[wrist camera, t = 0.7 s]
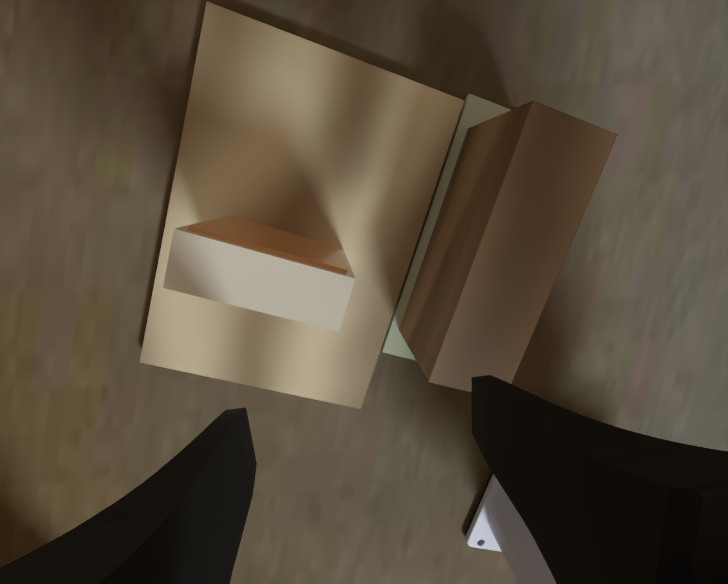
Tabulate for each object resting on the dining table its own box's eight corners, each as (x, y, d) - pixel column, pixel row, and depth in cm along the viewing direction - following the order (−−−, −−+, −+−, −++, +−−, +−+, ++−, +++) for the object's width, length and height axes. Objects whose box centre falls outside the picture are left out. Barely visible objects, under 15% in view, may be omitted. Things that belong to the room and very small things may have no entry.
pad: (544, 125, 20) (549, 124, 19) (452, 366, 23) (454, 369, 22) (466, 95, 19) (469, 93, 18) (381, 349, 22) (382, 352, 21)
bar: (529, 151, 19) (617, 134, 14) (455, 344, 22) (504, 399, 16) (467, 128, 19) (533, 100, 13) (398, 330, 21) (428, 382, 15)
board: (458, 104, 19) (464, 100, 18) (359, 401, 22) (360, 408, 22) (211, 9, 17) (206, 1, 16) (146, 355, 20) (139, 362, 20)
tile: (344, 247, 19) (356, 274, 13) (333, 287, 20) (339, 331, 13) (224, 212, 18) (175, 223, 12) (215, 255, 19) (162, 288, 12)
